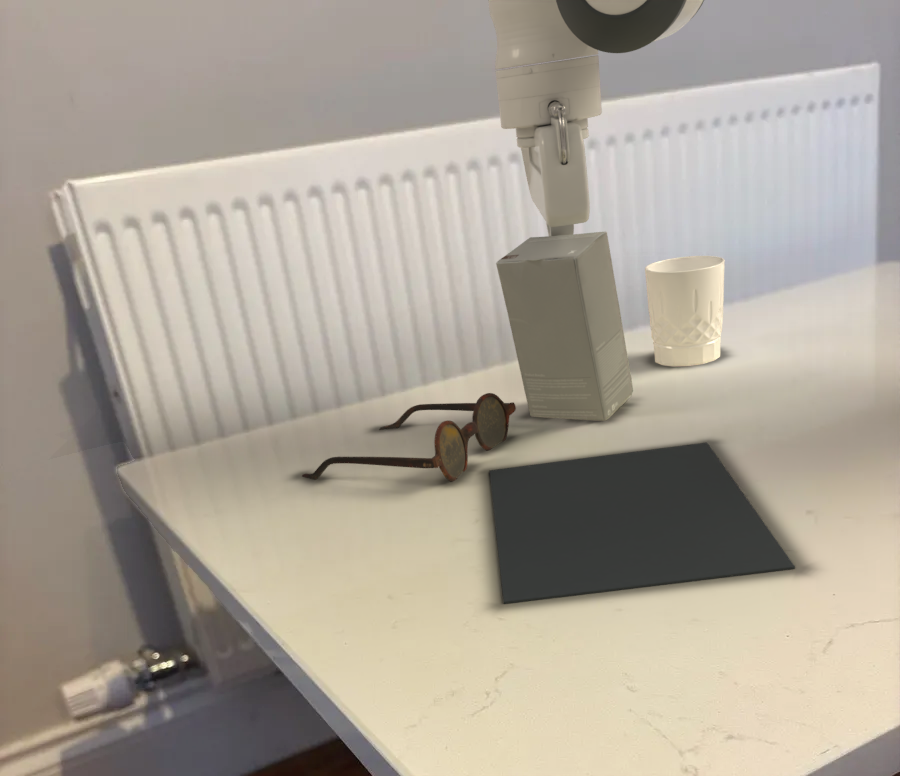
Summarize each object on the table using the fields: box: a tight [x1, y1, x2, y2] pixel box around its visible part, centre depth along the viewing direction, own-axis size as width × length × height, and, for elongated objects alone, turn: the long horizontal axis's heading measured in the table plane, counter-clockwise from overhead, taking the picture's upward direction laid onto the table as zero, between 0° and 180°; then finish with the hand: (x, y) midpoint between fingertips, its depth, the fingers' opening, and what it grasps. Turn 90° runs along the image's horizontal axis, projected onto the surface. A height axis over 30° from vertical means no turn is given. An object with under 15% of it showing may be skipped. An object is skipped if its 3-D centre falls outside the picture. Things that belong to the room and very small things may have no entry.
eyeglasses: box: [301, 392, 517, 482], centre depth 91 cm, size 15×15×5 cm
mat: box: [489, 442, 796, 605], centre depth 74 cm, size 18×24×1 cm
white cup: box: [644, 255, 726, 367], centre depth 106 cm, size 8×8×10 cm
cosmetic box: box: [495, 230, 634, 422], centre depth 93 cm, size 8×7×16 cm
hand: (562, 264), depth 95 cm, fingers closed
